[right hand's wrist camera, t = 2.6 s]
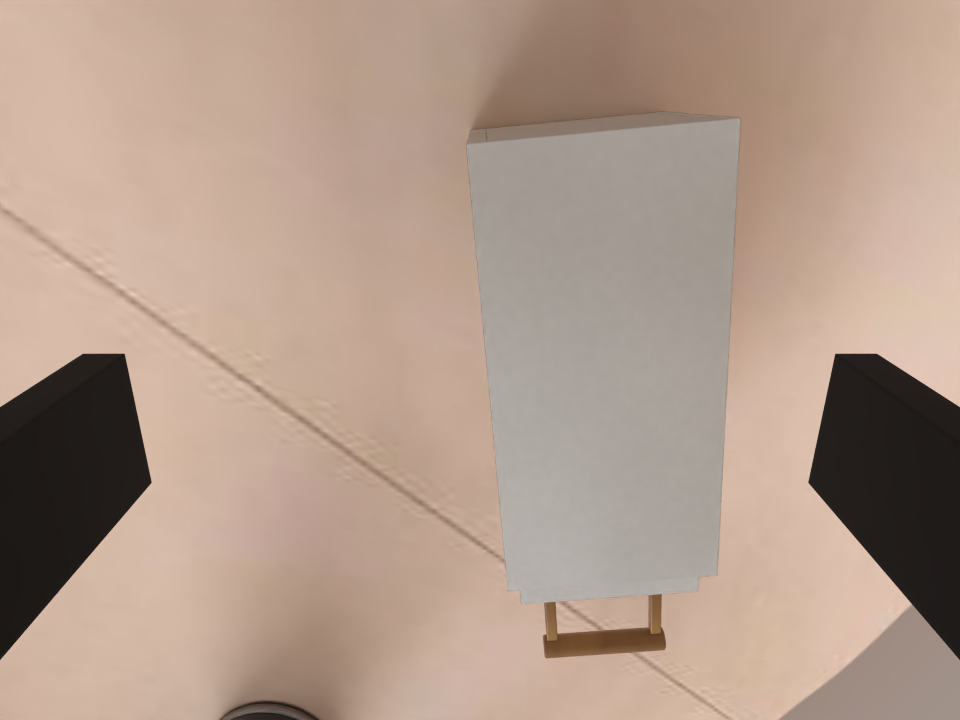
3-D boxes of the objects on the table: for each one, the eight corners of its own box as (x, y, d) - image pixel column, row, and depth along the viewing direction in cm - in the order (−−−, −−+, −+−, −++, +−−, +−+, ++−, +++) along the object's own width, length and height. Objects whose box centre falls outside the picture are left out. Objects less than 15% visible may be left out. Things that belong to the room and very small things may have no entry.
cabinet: (661, 462, 43) (717, 576, 33) (501, 474, 43) (507, 591, 33) (665, 111, 35) (741, 117, 25) (469, 130, 35) (465, 143, 25)
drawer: (654, 569, 45) (695, 680, 36) (519, 579, 45) (528, 691, 37) (657, 169, 35) (714, 192, 27) (485, 185, 35) (487, 213, 27)
